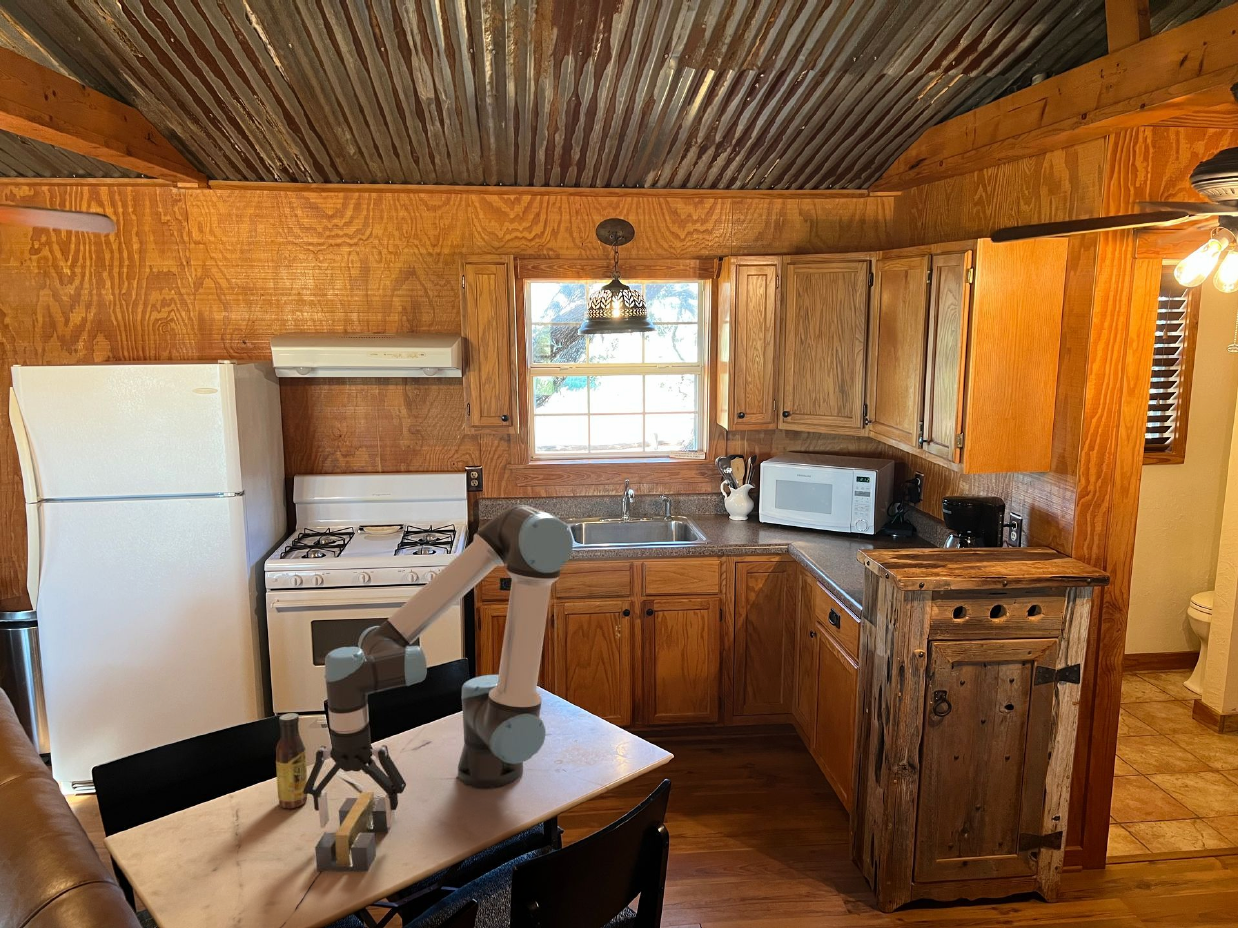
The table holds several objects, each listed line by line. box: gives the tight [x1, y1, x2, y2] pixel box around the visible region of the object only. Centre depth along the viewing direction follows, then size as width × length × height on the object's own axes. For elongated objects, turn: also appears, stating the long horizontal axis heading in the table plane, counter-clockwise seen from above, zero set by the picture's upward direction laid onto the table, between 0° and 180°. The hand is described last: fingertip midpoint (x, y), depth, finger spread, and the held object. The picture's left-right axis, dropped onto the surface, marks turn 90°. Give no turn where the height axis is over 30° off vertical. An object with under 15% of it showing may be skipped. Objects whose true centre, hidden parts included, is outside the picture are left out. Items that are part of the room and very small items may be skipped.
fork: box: [335, 771, 385, 803], centre depth 203 cm, size 3×24×2 cm, turn 44°
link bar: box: [335, 791, 375, 864], centre depth 180 cm, size 2×16×6 cm, turn 178°
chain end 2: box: [314, 832, 377, 872], centre depth 174 cm, size 10×5×5 cm, turn 88°
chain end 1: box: [338, 797, 395, 834], centre depth 186 cm, size 10×5×5 cm, turn 88°
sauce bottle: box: [275, 712, 308, 809], centre depth 195 cm, size 6×6×20 cm
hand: (357, 823), depth 180 cm, fingers open, 13 cm apart
